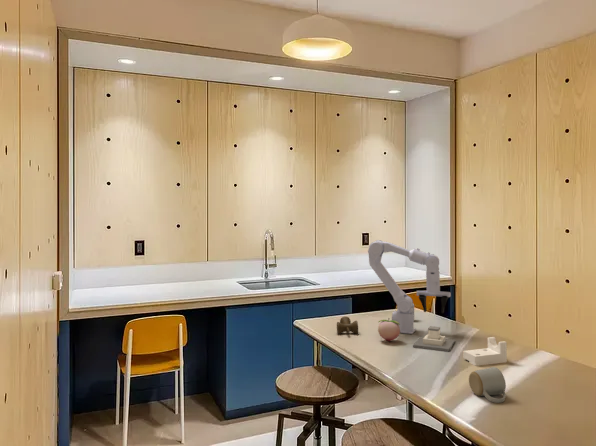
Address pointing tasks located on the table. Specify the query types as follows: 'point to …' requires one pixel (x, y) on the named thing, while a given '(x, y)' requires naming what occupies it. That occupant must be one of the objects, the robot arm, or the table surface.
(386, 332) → the decorative fruit
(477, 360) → the bracket
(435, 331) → the block
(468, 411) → the table surface
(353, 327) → the kendama
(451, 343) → the outlet plate
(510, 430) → the table surface
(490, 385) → the ceramic mug
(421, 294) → the robot arm
